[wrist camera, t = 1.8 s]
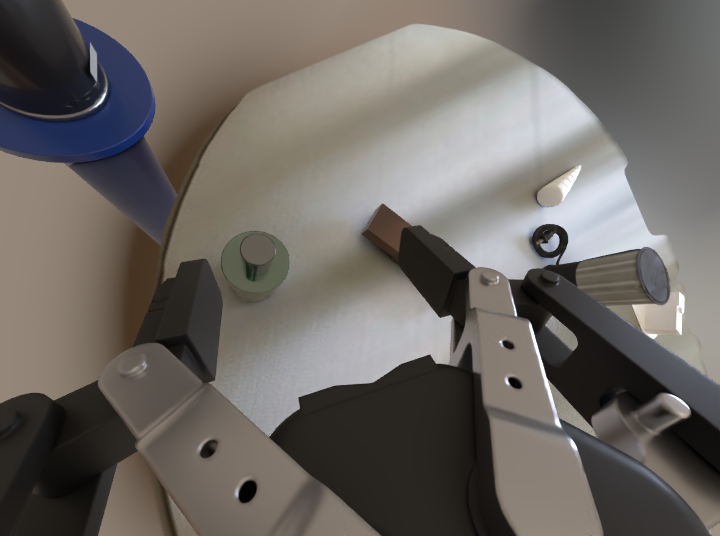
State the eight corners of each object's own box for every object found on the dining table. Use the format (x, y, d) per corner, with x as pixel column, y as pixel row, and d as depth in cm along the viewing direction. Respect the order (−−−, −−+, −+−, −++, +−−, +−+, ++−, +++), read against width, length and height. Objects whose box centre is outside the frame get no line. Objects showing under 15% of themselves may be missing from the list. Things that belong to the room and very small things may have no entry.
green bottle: (219, 286, 29) (195, 258, 16) (248, 249, 31) (247, 198, 18) (261, 310, 30) (269, 301, 18) (287, 273, 32) (310, 241, 20)
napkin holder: (647, 345, 63) (683, 347, 58) (630, 301, 64) (663, 299, 58) (668, 324, 69) (702, 324, 64) (652, 284, 70) (684, 281, 65)
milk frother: (560, 319, 52) (669, 318, 38) (512, 266, 49) (611, 245, 36) (577, 269, 57) (676, 253, 44) (535, 219, 55) (626, 186, 41)
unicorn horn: (584, 179, 67) (608, 169, 62) (541, 211, 56) (565, 202, 52) (576, 163, 66) (599, 152, 62) (531, 193, 56) (554, 182, 52)
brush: (356, 237, 37) (367, 229, 34) (371, 213, 39) (382, 203, 35) (446, 302, 41) (463, 300, 38) (455, 277, 43) (473, 273, 39)
